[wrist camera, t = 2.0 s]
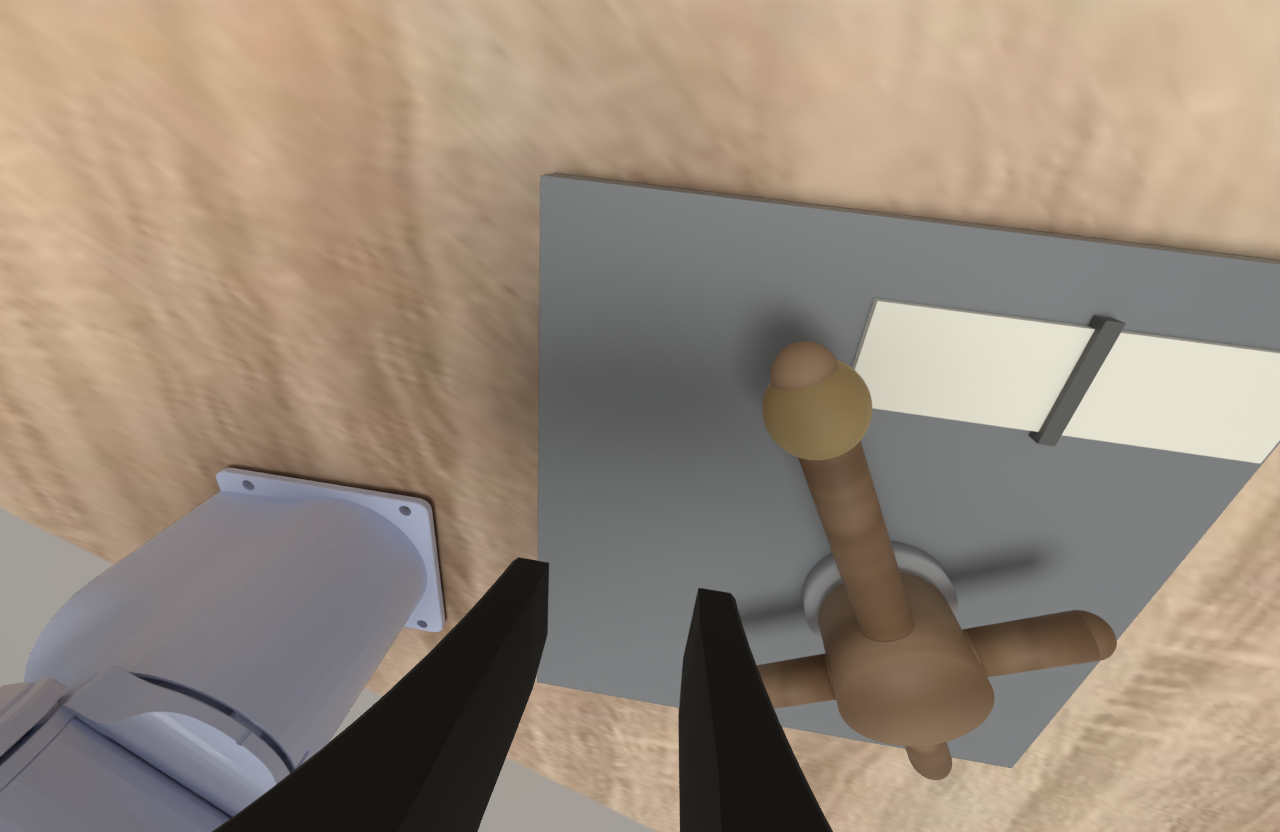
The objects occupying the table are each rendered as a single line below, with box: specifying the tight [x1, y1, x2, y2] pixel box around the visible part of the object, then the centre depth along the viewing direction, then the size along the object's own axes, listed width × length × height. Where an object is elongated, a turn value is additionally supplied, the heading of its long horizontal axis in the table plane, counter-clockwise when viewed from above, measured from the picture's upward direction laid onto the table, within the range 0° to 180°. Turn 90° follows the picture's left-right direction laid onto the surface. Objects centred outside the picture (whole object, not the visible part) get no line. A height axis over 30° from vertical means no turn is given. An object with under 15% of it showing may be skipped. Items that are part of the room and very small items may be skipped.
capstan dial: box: [757, 341, 1117, 780], centre depth 16 cm, size 18×12×3 cm
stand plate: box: [537, 173, 1280, 768], centre depth 19 cm, size 22×22×2 cm
